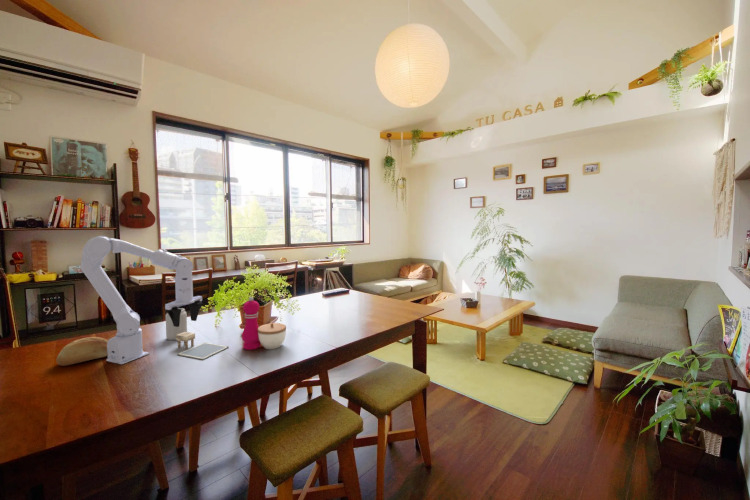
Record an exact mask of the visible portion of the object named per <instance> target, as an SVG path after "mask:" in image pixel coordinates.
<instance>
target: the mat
mask: <svg viewBox="0 0 750 500" xmlns="http://www.w3.org/2000/svg"><path fill="white" fill-rule="evenodd" d="M227 349H229V345H228V346H226V345H222V344H221V345H220V344H215V343H210V342H202V343H200V344H198V345H194V346H192V347H191V348H188V349H185V350H184V351H181V352H179V353H177V356H180V357H186V358H190V359H196V360H200V361H205V360H206V359H208V358H210V357H213V356H214V355H216V354H218V353H220V352H223V351H225V350H227Z"/></svg>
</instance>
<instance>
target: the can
mask: <svg viewBox="0 0 750 500" xmlns="http://www.w3.org/2000/svg"><path fill="white" fill-rule="evenodd" d="M177 308H178V309H181V313H180V325H179V327H175V326H174V325H173V322H172V320H171V318H170V316H169V314H168V313H167V312H166V314H164V315H165V337H166V339H168V340H169V341H177V340H176V335H178V334H181V333H183V332H188V321H187V320H188V315H187V311H186V309H185V308H183V307H182V308H180V307H177Z"/></svg>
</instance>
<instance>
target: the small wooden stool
mask: <svg viewBox="0 0 750 500" xmlns="http://www.w3.org/2000/svg"><path fill="white" fill-rule="evenodd" d="M195 339H196V333H194V332H189V331H187V332H183V333H181V334H178V335H176V340H175V341H177V346H178V348H182V342H183V345H184V346H185V347H184V348H185V350H188V349H189V342H190V347H191V348H193V347H195V342H194V341H195Z"/></svg>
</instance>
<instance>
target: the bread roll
mask: <svg viewBox="0 0 750 500" xmlns="http://www.w3.org/2000/svg"><path fill="white" fill-rule="evenodd" d="M108 340H109V339H106V338H103V337H99V336H91V337H90V336H87V337H84V338H82V337H81V338H79V339H75V340H73V341H71V342H70V343H68V344H66V345H65V346H64V347H63V348H62V349H61V350H60V352H59V353H58V354H57V357H56V359H55V360H56V364H57V365H58V366H63V367H65V366H71V365H75V364H80V363H84V362H86V361H88V362H89V361H90V360H94V359H101V358H105V357H108V353H107V342H108Z"/></svg>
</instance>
